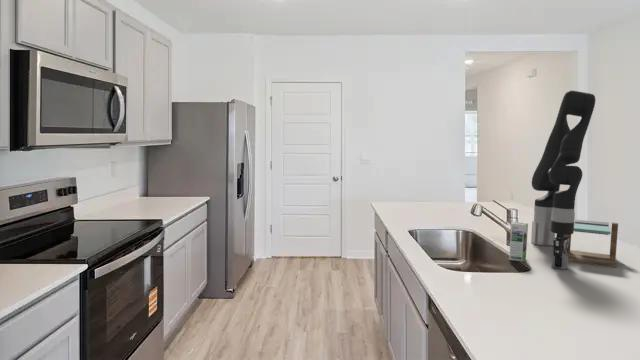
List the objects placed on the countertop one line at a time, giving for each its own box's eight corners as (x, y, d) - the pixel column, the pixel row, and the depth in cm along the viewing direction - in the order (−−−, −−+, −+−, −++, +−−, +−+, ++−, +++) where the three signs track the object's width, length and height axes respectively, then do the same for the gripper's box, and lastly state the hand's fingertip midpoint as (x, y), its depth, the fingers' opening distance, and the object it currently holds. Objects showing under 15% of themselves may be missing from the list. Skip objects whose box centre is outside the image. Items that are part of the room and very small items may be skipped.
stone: (551, 267, 174) (552, 253, 173) (552, 264, 178) (553, 251, 177) (566, 269, 171) (567, 255, 171) (567, 266, 175) (568, 253, 175)
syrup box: (508, 260, 183) (511, 223, 182) (510, 257, 189) (512, 221, 187) (524, 262, 181) (527, 224, 179) (526, 258, 186) (528, 222, 185)
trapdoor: (573, 228, 200) (574, 219, 200) (609, 232, 194) (610, 222, 193) (570, 236, 183) (571, 226, 183) (609, 241, 176) (610, 230, 176)
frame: (565, 251, 201) (567, 217, 199) (615, 257, 191) (617, 221, 190) (561, 260, 184) (564, 223, 183) (616, 267, 175) (618, 229, 174)
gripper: (569, 223, 165) (566, 271, 166) (578, 218, 176) (575, 263, 178) (546, 221, 170) (543, 267, 171) (556, 216, 181) (553, 260, 182)
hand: (559, 265), depth 174 cm, fingers closed on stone, 5 cm apart
